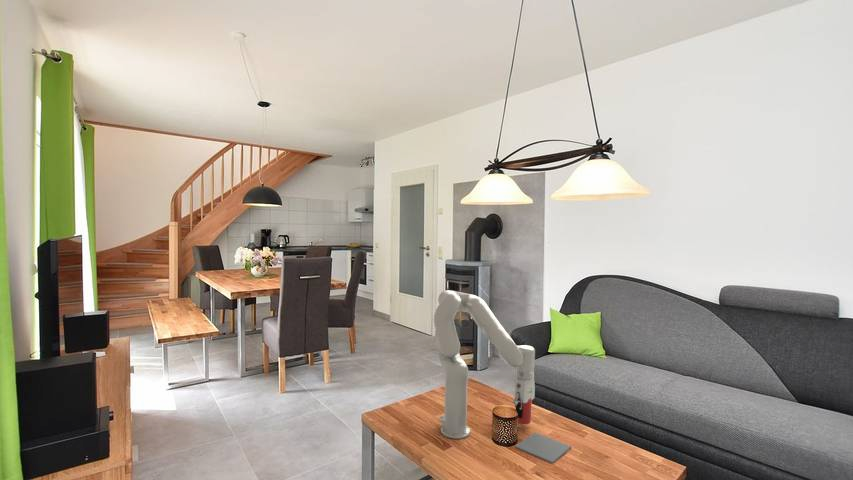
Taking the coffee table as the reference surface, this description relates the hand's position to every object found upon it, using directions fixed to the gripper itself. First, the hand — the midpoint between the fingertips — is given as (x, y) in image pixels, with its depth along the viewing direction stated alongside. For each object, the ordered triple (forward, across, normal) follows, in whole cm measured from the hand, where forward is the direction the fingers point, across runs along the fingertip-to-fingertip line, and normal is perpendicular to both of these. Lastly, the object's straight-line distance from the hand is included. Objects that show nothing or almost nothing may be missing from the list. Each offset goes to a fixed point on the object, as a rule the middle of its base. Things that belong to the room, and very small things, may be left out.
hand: (523, 414), depth 177 cm
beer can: (+3, 0, 0) cm, 3 cm away
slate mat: (+6, -9, -15) cm, 18 cm away
